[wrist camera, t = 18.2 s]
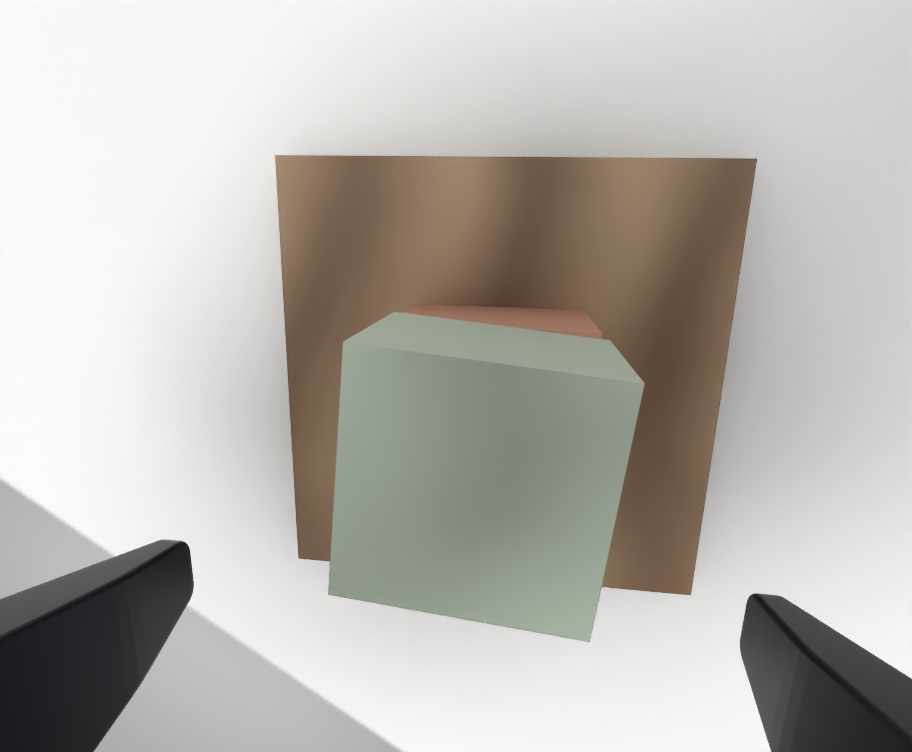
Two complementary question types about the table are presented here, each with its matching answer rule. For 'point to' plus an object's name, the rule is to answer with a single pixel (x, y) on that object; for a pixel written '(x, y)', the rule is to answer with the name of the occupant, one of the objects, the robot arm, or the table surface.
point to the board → (526, 302)
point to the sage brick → (480, 470)
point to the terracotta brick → (516, 318)
